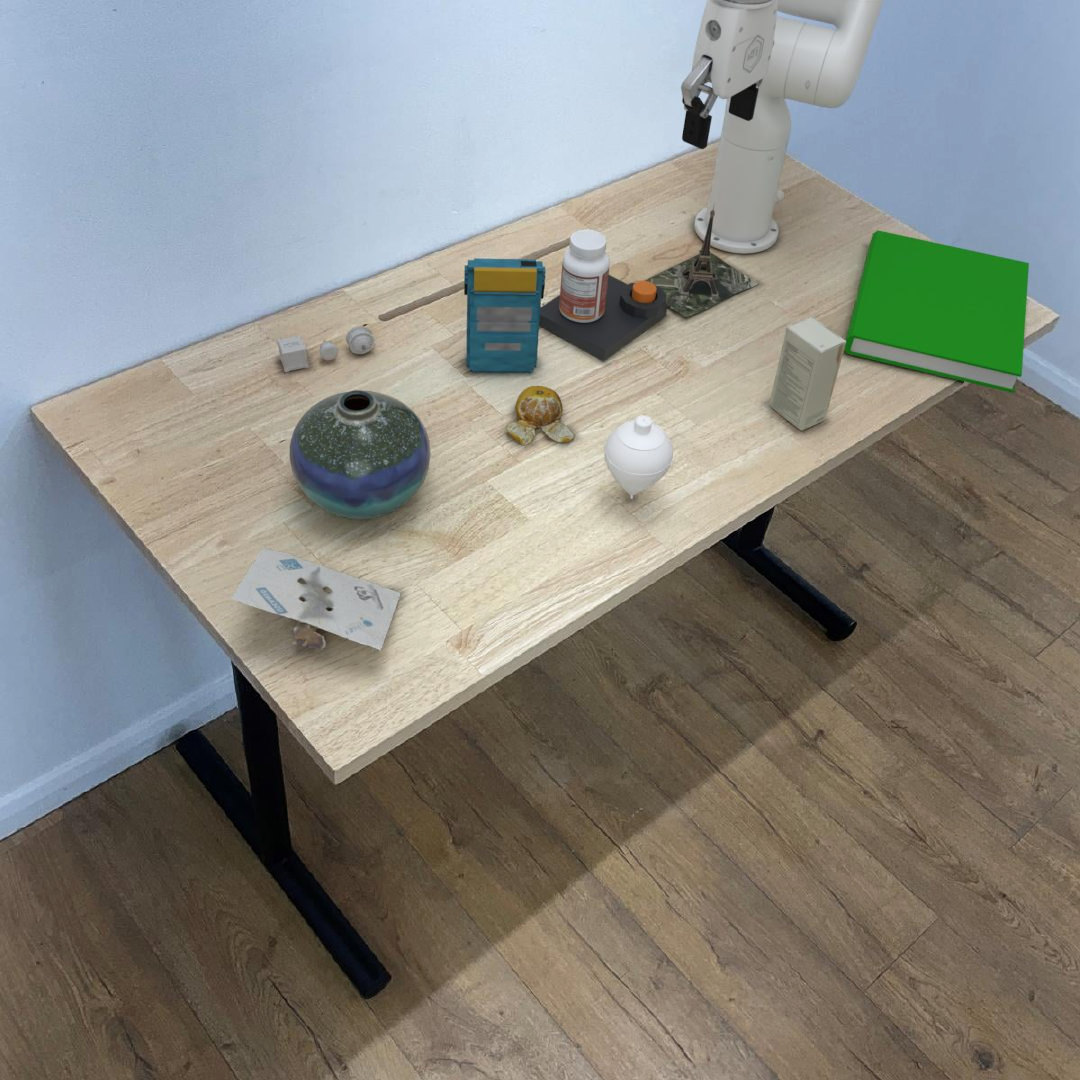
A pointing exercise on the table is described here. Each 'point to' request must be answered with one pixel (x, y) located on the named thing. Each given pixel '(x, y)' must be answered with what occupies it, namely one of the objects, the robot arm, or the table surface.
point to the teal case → (503, 314)
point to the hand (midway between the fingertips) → (717, 130)
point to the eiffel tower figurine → (700, 280)
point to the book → (941, 311)
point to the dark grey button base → (607, 320)
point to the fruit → (538, 416)
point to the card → (318, 599)
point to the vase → (360, 454)
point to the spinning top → (638, 454)
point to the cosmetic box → (806, 372)
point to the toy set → (322, 348)
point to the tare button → (644, 292)
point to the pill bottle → (584, 277)
